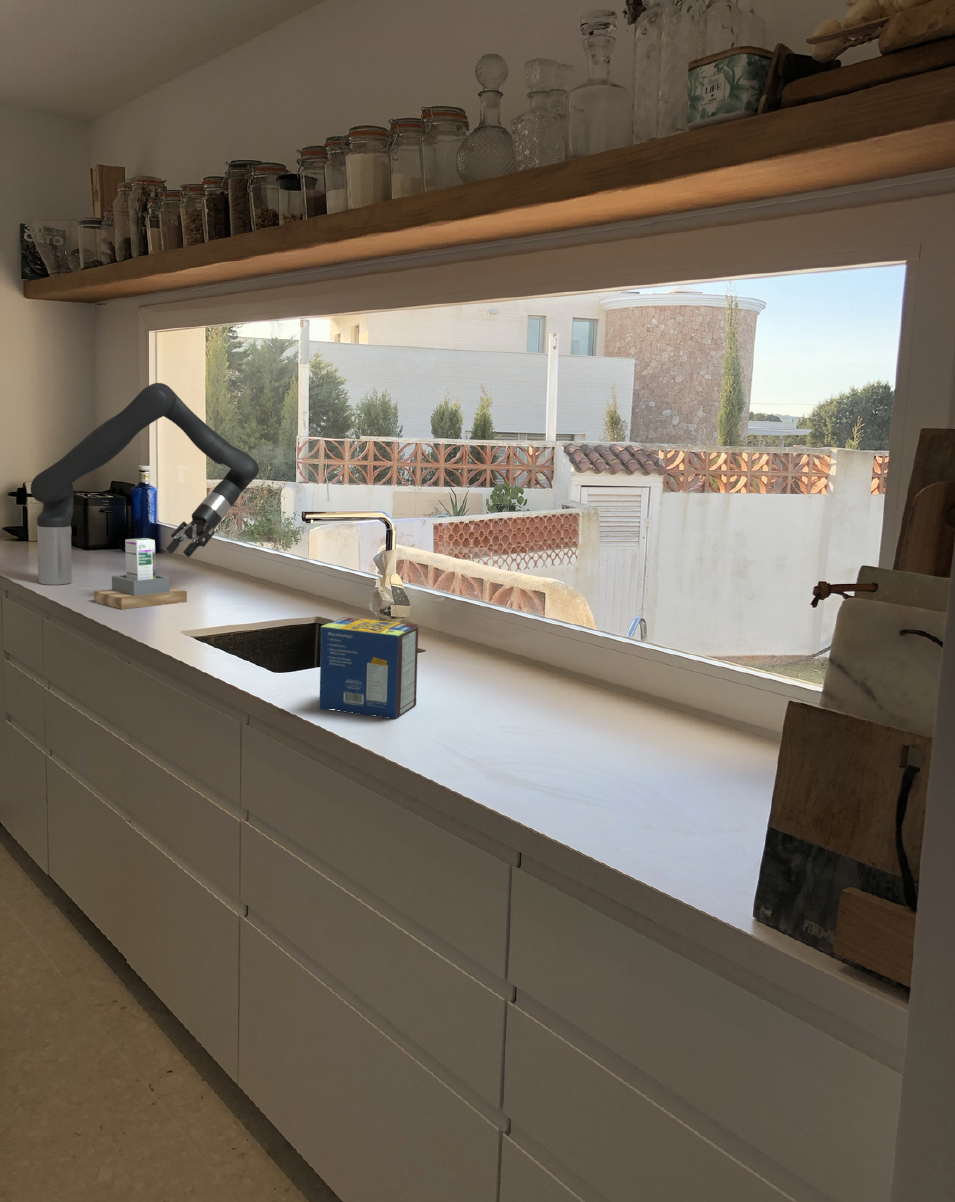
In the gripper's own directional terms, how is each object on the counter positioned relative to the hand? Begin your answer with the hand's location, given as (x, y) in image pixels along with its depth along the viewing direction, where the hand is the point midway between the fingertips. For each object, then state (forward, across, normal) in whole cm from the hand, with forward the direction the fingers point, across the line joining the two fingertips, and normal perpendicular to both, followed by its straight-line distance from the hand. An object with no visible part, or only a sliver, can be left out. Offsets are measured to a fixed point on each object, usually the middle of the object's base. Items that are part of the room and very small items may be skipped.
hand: (177, 553), depth 284 cm
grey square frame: (+15, 0, -1) cm, 15 cm away
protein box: (+35, +117, -16) cm, 123 cm away
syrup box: (+15, 0, -1) cm, 15 cm away
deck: (+17, 0, +1) cm, 17 cm away
